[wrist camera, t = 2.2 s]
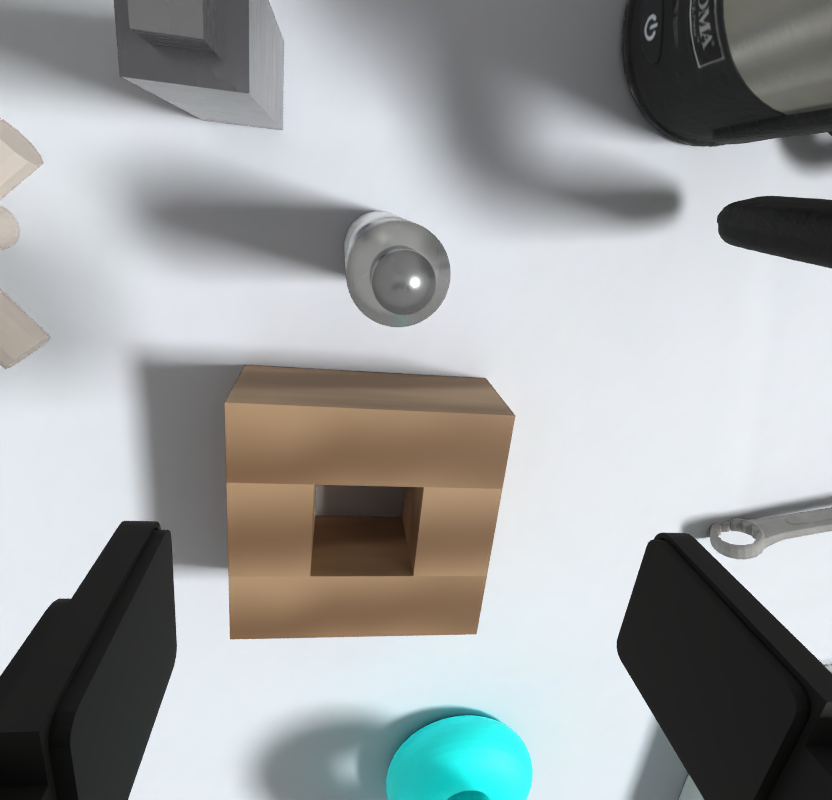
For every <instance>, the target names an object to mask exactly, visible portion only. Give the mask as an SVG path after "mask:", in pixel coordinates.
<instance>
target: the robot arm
mask: <svg viewBox="0 0 832 800" xmlns="http://www.w3.org/2000/svg"><path fill="white" fill-rule="evenodd" d="M176 650H177V641H176V621H175V601H174V581H173V562H172V542H171V533H170V531H169V530H161V528H160V524H159V523H158V522H154V521H123V522H122V523H121V524H120V525H119V526H118V528H117V529H116V531H115V533H114V534H113V536H112V537H111V539H110V540H109V542H108V543H107V545H106V546H105V548H104V549H103V551H102V552H101V554H100V556H99V557H98V559H97V560H96V562H95V563H94V565H93V566H92V568H91V569H90V571H89V572H88V574H87V575H86V577H85V579H84V580H83V582H82V583H81V585H80V586H79V588H78V589H77V591H76V592H75V594H74V595H73V597H72V598H71V599H58V600H56V601H54V602H53V603H52V604H51V605H50V606H49V607H48V609H47V610H46V611H45V613H44V614H43V616H42V617H41V618H40V620H39V621H38V623H37V624H36V626H35V627H34V629H33V630H32V631H31V633H30V634H29V636H28V637H27V639H26V640H25V641H24V643H23V644H22V646H21V647H20V649H19V650H18V652H17V653H16V654H15V656H14V657H13V659H12V660H11V662H10V663H9V665H8V666H7V667H6V669H5V670H4V672H3V673H2V675H1V676H0V800H128V798H129V795H130V792H131V789H132V786H133V783H134V780H135V777H136V775H137V772H138V769H139V766H140V763H141V760H142V757H143V754H144V751H145V748H146V746H147V743H148V740H149V737H150V734H151V731H152V728H153V725H154V722H155V720H156V717H157V714H158V711H159V708H160V705H161V702H162V699H163V696H164V693H165V691H166V688H167V685H168V682H169V679H170V676H171V673H172V670H173V667H174V663H175V658H176ZM617 651H618V655H619V657H620V660H621V661H622V663H623V665H624V666H625V668H626V670H627V671H628V673H629V675H630V676H631V678H632V680H633V681H634V683H635V685H636V686H637V688H638V690H639V691H640V693H641V695H642V697H643V698H644V700H645V702H646V703H647V705H648V707H649V708H650V710H651V712H652V713H653V715H654V717H655V718H656V720H657V722H658V723H659V725H660V727H661V728H662V730H663V732H664V733H665V735H666V737H667V738H668V740H669V742H670V743H671V745H672V747H673V748H674V750H675V752H676V753H677V755H678V757H679V758H680V760H681V762H682V763H683V765H684V767H685V768H686V770H687V772H688V773H689V775H690V777H691V778H692V780H693V782H694V783H695V785H696V787H697V789H698V790H699V792H700V794H701V795H702V797H703V799H704V800H832V673H831V672H830V671H829V670H828V669H827V668H826V667H825V666H824V665H823V664H822V663H821V662H820V661H819V660H818V659H817V658H816V657H815V656H814V655H813V654H812V653H811V652H810V651H809V650H808V649H807V648H806V647H805V646H804V645H803V644H802V643H800V642H799V641H798V640H797V639H796V638H795V637H794V636H793V635H792V634H791V633H790V632H789V631H788V630H787V629H786V628H785V627H784V626H783V625H782V624H781V623H780V622H779V621H778V620H777V619H776V618H775V617H774V616H773V615H772V614H771V613H770V612H769V611H768V610H767V609H766V608H765V607H764V606H763V605H762V604H761V603H760V602H759V601H758V600H757V599H756V598H755V597H754V596H753V595H752V594H751V593H750V592H749V591H748V590H747V589H746V588H745V587H744V586H743V585H742V584H740V583H739V582H738V581H737V580H736V579H735V578H734V577H733V576H732V575H731V574H730V573H729V572H728V571H727V570H726V569H725V568H724V567H723V566H722V565H721V564H720V563H719V562H718V561H717V560H716V559H715V558H714V557H713V556H712V555H711V554H710V553H709V552H708V551H707V550H706V549H705V548H704V547H703V546H702V545H701V544H700V543H699V542H698V541H697V540H696V539H695V538H694V537H692V536H691V535H690V534H686V533H659V534H658V535H657V536H656V537H655V538H654V540H651V541H650V542H649V543H648V545H647V547H646V550H645V553H644V557H643V560H642V563H641V566H640V569H639V572H638V575H637V579H636V582H635V585H634V588H633V591H632V594H631V598H630V601H629V604H628V607H627V610H626V613H625V616H624V620H623V623H622V626H621V629H620V632H619V635H618V639H617Z"/></svg>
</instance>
